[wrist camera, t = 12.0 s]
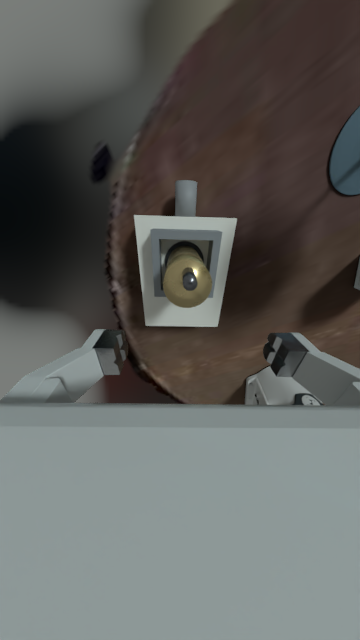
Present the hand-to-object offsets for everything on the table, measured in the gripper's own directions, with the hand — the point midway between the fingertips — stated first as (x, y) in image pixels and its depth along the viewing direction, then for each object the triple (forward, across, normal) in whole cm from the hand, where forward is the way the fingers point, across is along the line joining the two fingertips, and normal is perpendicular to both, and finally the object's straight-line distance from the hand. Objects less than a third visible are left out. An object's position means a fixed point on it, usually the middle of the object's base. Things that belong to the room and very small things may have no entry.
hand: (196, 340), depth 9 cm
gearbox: (+25, 0, +1) cm, 25 cm away
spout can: (+19, 0, 0) cm, 19 cm away
